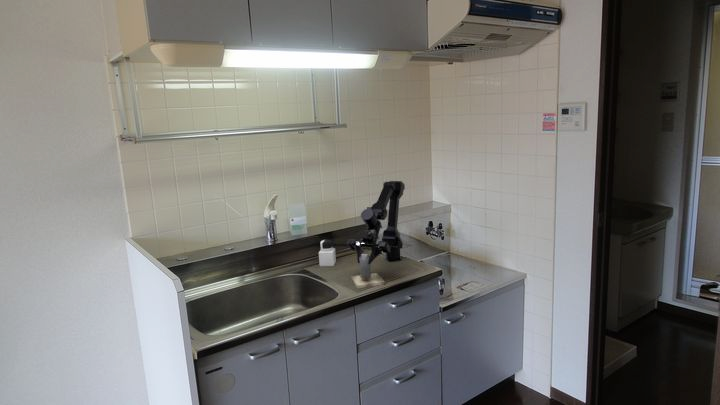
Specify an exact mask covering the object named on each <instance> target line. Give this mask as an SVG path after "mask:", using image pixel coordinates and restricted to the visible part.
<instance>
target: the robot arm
mask: <svg viewBox="0 0 720 405" xmlns="http://www.w3.org/2000/svg"><path fill="white" fill-rule="evenodd" d="M405 188H406V186H405V183H403V181H402V180H389V181H385V182H383V185H382V190H381V191H380V194H379V197H378V198H377V201H376V202H375V203H373V204H372V205H371V206H367V207H366V208H365V209H363V211H362V212H360V218H361V220H362V221H363V223H364V225H366V226H367V227H366V229H365V230H359V232H358V238H359V239H360V241H359V240H358V239H353V238H349V239H347V242H346V245H347V246H348V248H349V249H350V250H351V251H356V257H357V264H360V261H359V257H360V256H361V255H362V254H364V253H365V252H364V250H363V248H365V249H366V248H367V249H371V253H370V255H369V256H370V258H369V262H368V264H370V265H372V262H374V260H375V259H376V258H378V256H380V255H382V254H383V253H384V254H385V260H387V261H388V262H390V263H391V262H397V261H402V260H403V259H402V258H401V249H403V247H404V246H403V245H404V243H403V240H402V239H401V234H400V231H399V230H398V221H399V220H398V219H399V207H400V199H401V198H402V197H403V195H404V191H405ZM388 204H389V205H388ZM387 206H388V209H387ZM386 218H387V227H386V229H384V230H383V232H382V237H381V240H380V241H378V240H379V239H380V236H379V234H380V231H381V229H383V226H382V222H381V221H385V220H386ZM377 242H378V243H377Z"/></svg>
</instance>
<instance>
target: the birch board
mask: <svg viewBox="0 0 720 405" xmlns="http://www.w3.org/2000/svg"><path fill="white" fill-rule="evenodd" d="M350 279H351V281H352V283H353V284H354V285H355V287H356V288H357V289H364V288H369V287H371V288H372V287H377V285H378V286H383V285H382V284H386V282H385V280H384V279H383V278H382V277H381V275H380V274H378V273H377V272H375V273H371V278H369V279H362V278H360V275H359V274H358V275H351V276H350Z"/></svg>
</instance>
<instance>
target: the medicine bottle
mask: <svg viewBox="0 0 720 405" xmlns="http://www.w3.org/2000/svg"><path fill="white" fill-rule="evenodd" d="M333 243H334V242H333V240H331V239H323V240H321V241H320V243H319V244H320V250H319V251H318V264H319V267H334V266H335V264H336V262H337V259H336V258H337V256H336V255H337V254H336V247H335V248H334V244H333Z"/></svg>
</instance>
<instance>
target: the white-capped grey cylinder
mask: <svg viewBox="0 0 720 405" xmlns="http://www.w3.org/2000/svg"><path fill="white" fill-rule="evenodd" d="M369 258H370V255H368V253H367V254H366V253H363V254H362V255H361V256H360V257H359V261H360V263H359V273H360V278H362V279H369V278H371V274H372V271H371V270H372V269H371V268H372V267H371V264H368V262H369Z"/></svg>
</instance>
